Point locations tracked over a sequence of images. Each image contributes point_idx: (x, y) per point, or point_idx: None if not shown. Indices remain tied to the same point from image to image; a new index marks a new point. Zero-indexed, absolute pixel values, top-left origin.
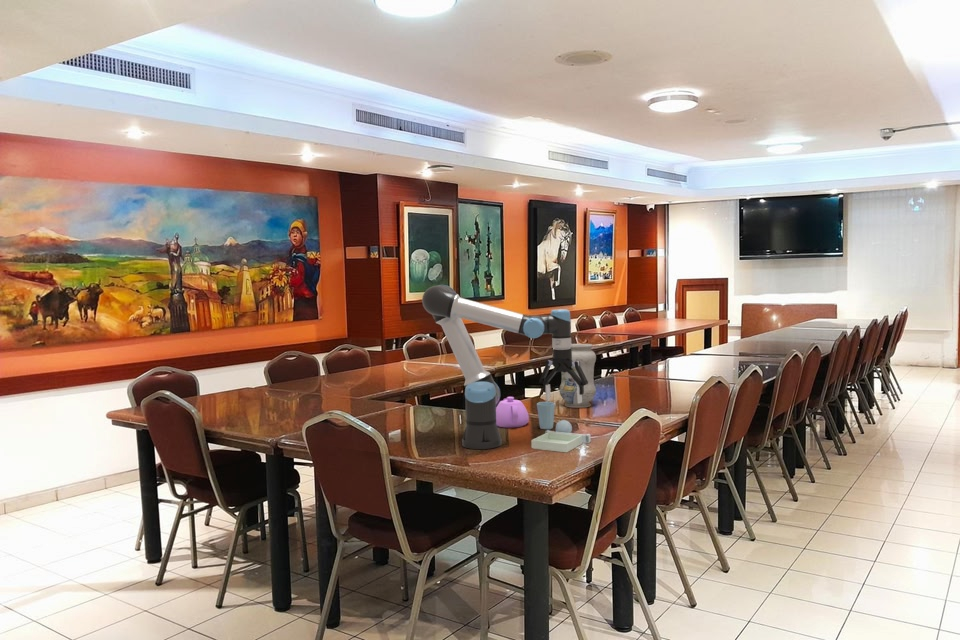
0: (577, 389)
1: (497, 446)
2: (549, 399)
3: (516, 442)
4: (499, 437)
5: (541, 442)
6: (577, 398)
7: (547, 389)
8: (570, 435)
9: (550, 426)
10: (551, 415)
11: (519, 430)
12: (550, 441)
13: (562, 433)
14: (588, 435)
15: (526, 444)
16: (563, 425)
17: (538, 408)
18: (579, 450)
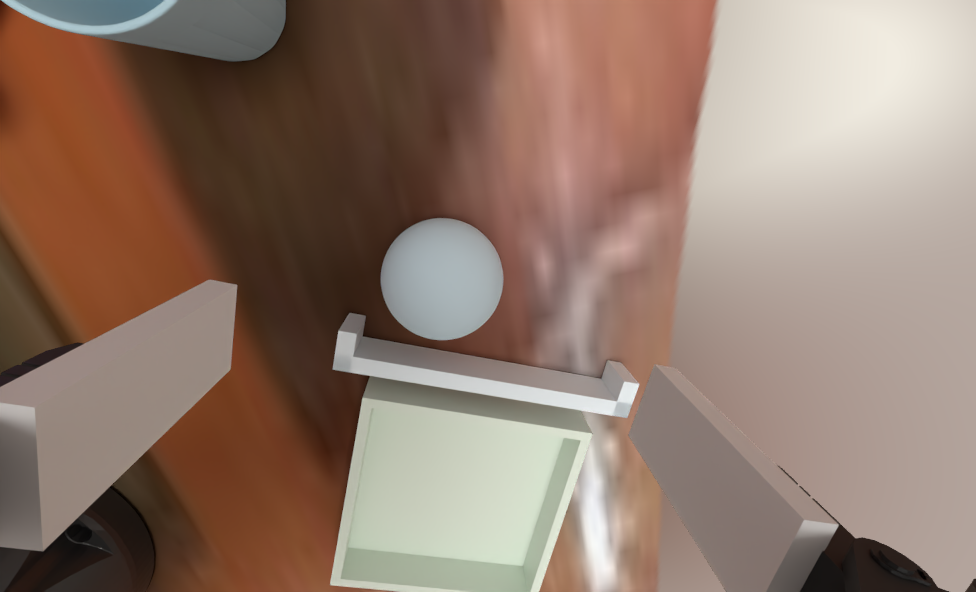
0: (725, 580)
1: (151, 574)
2: (226, 324)
3: (206, 461)
4: (117, 584)
5: (393, 585)
6: (652, 472)
7: (116, 470)
8: (521, 428)
9: (272, 38)
10: (242, 9)
11: (53, 142)
12: (404, 438)
13: (461, 389)
14: (629, 410)
15: (282, 485)
16: (453, 337)
17: (38, 2)
18: (580, 521)
